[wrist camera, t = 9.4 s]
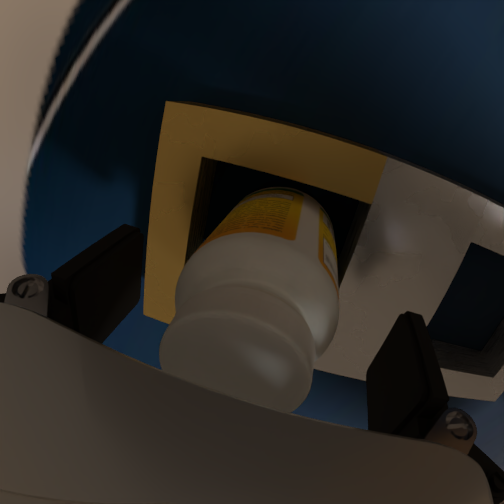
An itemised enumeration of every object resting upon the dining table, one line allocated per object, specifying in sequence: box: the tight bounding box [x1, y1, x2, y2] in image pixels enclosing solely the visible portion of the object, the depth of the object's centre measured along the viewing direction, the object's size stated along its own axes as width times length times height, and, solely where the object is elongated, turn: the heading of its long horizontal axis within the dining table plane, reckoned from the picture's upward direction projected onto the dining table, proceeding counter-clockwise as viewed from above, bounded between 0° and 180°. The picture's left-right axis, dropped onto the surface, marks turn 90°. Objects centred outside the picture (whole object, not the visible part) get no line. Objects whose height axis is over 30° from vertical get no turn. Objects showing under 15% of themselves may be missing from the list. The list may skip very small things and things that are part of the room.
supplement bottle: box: [159, 187, 339, 413], centre depth 12 cm, size 5×5×10 cm
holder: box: [144, 101, 504, 401], centre depth 15 cm, size 23×11×3 cm, turn 77°
